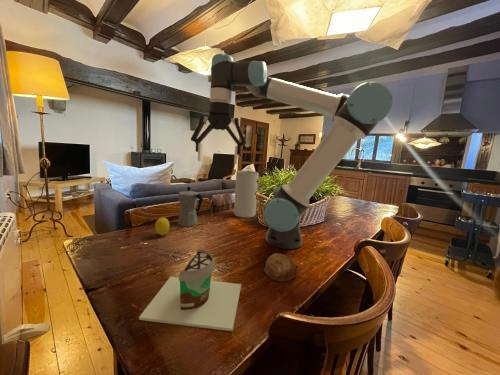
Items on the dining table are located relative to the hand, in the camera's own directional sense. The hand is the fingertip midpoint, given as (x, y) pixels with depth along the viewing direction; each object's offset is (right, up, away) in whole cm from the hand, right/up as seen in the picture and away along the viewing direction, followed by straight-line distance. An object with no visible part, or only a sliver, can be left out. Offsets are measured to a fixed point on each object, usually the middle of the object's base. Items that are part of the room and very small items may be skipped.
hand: (217, 162), depth 85 cm
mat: (-1, -37, -30) cm, 47 cm away
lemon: (-24, -29, +8) cm, 39 cm away
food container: (0, -37, -30) cm, 47 cm away
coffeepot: (-17, -27, +25) cm, 41 cm away
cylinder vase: (+9, -25, +47) cm, 54 cm away
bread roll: (+22, -36, -14) cm, 45 cm away
